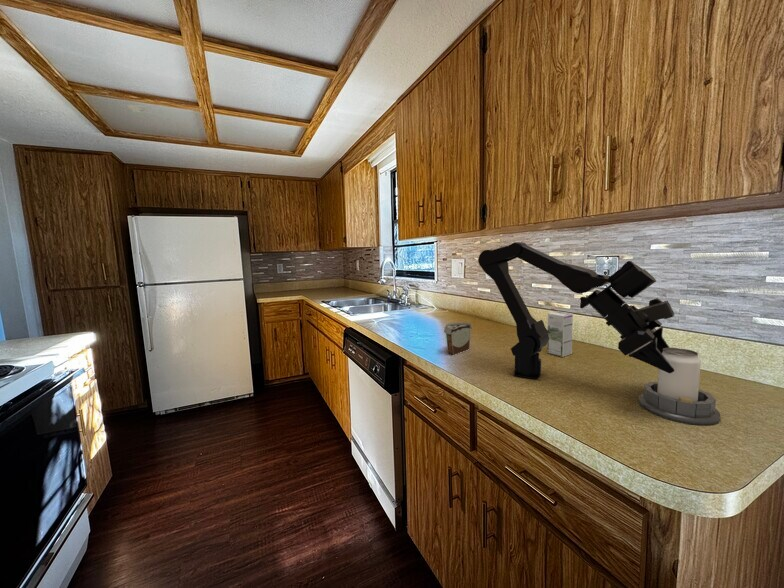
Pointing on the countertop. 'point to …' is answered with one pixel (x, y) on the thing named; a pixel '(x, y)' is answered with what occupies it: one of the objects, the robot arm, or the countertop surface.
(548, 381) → the countertop surface
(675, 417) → the collar
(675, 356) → the can
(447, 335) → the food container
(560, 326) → the syrup box
